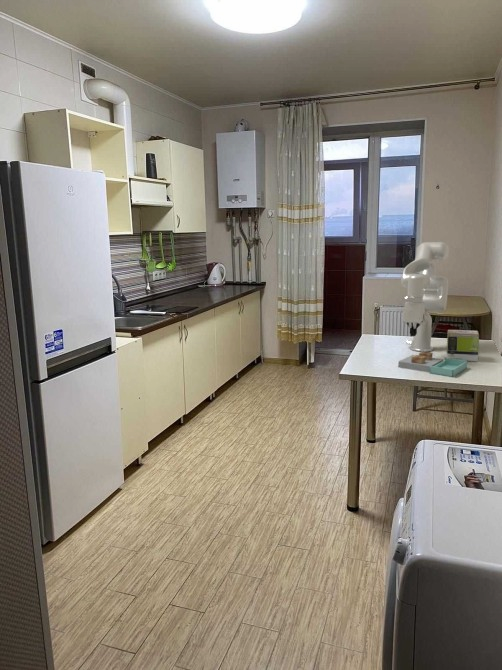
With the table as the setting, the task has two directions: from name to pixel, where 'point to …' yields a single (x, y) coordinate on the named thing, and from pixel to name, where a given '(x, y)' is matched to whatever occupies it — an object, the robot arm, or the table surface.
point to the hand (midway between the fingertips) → (413, 335)
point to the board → (420, 367)
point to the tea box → (462, 345)
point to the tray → (449, 367)
